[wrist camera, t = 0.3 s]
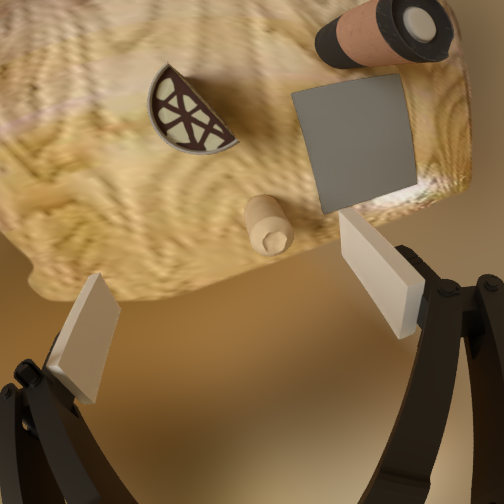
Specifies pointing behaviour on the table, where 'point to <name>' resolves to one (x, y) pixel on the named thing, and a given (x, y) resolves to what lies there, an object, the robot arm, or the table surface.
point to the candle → (267, 226)
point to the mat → (357, 139)
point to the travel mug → (386, 34)
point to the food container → (186, 116)
